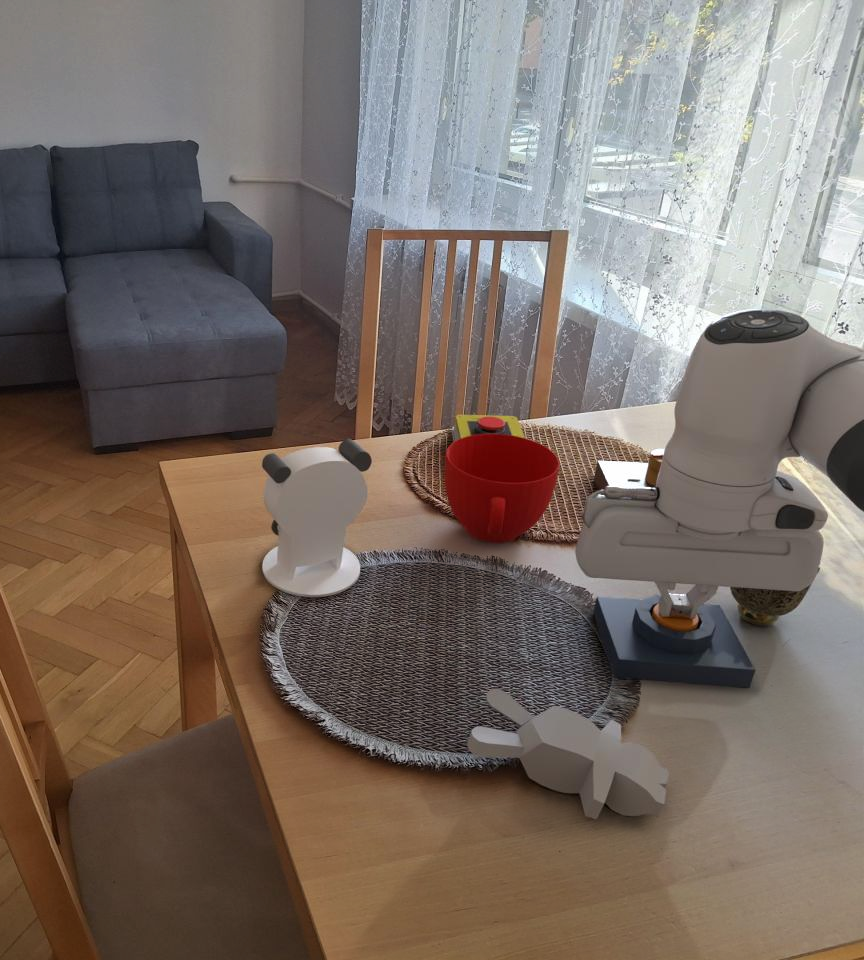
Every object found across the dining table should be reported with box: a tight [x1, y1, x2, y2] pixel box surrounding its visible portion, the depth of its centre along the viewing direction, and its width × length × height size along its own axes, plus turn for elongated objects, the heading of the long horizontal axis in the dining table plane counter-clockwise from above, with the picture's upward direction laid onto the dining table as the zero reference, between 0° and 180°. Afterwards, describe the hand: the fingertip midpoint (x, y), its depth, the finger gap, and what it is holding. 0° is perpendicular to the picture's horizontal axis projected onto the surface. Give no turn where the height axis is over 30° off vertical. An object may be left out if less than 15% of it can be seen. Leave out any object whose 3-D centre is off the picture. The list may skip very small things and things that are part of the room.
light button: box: [652, 604, 699, 632], centre depth 84 cm, size 4×4×2 cm
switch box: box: [592, 594, 756, 689], centre depth 85 cm, size 12×10×4 cm
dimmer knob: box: [645, 448, 665, 486], centre depth 108 cm, size 4×4×4 cm
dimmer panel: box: [593, 460, 655, 495], centre depth 110 cm, size 14×10×3 cm
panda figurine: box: [261, 438, 373, 598], centre depth 97 cm, size 12×11×15 cm
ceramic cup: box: [444, 434, 561, 544], centre depth 102 cm, size 13×17×10 cm
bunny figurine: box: [466, 688, 670, 820], centre depth 71 cm, size 10×5×15 cm
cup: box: [729, 566, 821, 627], centre depth 88 cm, size 8×7×8 cm
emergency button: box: [451, 414, 526, 442], centre depth 123 cm, size 9×4×15 cm
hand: (675, 614), depth 84 cm, fingers closed, pressing on light button
